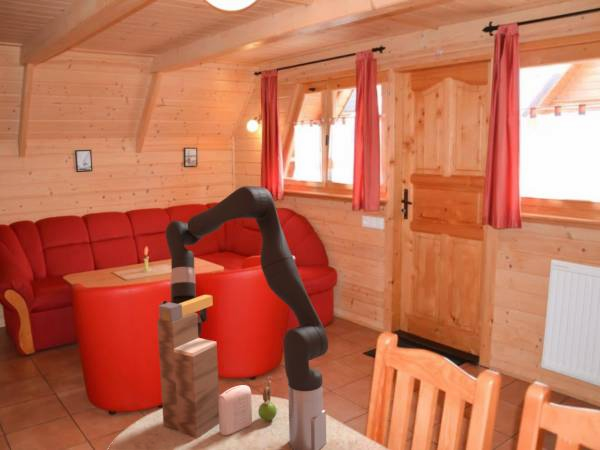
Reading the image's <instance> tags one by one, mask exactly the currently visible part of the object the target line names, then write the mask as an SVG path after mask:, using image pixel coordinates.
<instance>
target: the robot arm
mask: <svg viewBox="0 0 600 450" xmlns="http://www.w3.org/2000/svg"><path fill="white" fill-rule="evenodd" d="M238 219H246V220H247V219H249V220H250V219H251V220H252V219H253V220H255V221H256V224H257V225H258V229H259V231H260V234H261V241H262V242H261V249H260V250H261V251H260V267H261V270H262V273H263V275H264V279H265V281H266V283H267V286H268V288H269V289H270V290H271V291H272V292H273V293H274V294H275V296H277V297H278V298H279V299H280V300H281V301H282V302H284V303H285V305H287V306H288V308H289V309H291V311H292V313H293V314H294V316H295V318H296V320H297V322H298V325H299V326H296V327H293V328H290V329H288V330H287V331H286V332H285V334H284V337H283V357H284V359H283V360H284V371H285V375H286V378H287V383H288V384H287V387H288V389H287V391H288V421H289V422H288V425H289V426H288V430H289V432H288V434H289V446H290V448H291V449H292V450H320V449H321V448H323V447H324V446H325V444H327V411H326V410H325V409H324V405H323V404H324V403H323V398H324V397H323V396H324V395H323V392H324V391H323V390H324V389H323V374H322V372H321V371H319V370H318V369H316V368H312V367H310V363H309V361H311V360H314V359H317V358H319V357H321V356H324V355H325V354H326V353H327V352H328V350H329V339H328V335H327V332H326V330H325V327H324V325H323V323H322V321H321V319H320V317H319V316H318V313H317V312H316V308H314V305H313V303H312V300H311V299H310V297H309V295H308V292H307V290H306V288H305V285H304V283H303V280H302V278H301V276H300V273H299V269H298V267H297V264H296V261H295V259H294V257H293V255H292V252H291V250H290V248H289V244H288V242H287V240H286V236H285V233H284V231H283V227H282V226H281V222H280V217H279V213H278V212H277V207H276V204H275V201H274V198H273V195H272V193H271V192H270V191H269V190H268V188H265V187H263V186H253V185H251V186H250V185H245V186H242V187H239V188H237V189H235V190H234V191H233V192H231V193H230V194H229V195H227V196H226V197H225V198H223V199H222V200H221V201H220V202H218V203H217V204H215V205H214V206H213V205H212V207H210V208H207V209H206V210H204V211H201V212H199V213H197V214H195V215H193V216H191V217H190V218H189V219H188V222H183V221H179V220H171V221H170V222H169V223H168V224H167V226H166V228H165V239H166V244H167V248H168V251H169V254H170V257H171V264H170V265H171V267H170V268H171V271H170V281H169V282H170V303H175V304H179V303H182V302H185V301H188V300H191V299H194V298H197V292H196V289H197V286H196V285H197V284H196V271H195V256H194V252H193V251H191V250H190V249H188V248H186V247H185V246H193V245H196V244H198V242H200V241H201V240H202V239H203V238H204V237H206V236H208V235H210V234H213V233H214V232H216V231H218V230H220V229H221V228H222V226H223V225H224V224H225V223H227V222H229V221H233V220H238ZM166 303H169V301H167V300H164V301H162V302H160V305H163V304H166ZM160 305H159V306H160ZM194 313H197V320H198V337H200V335H201V334H202V323H204V322H207V320H208V315H207V313H208V312H207V308H204V309H202V310H199V314H198V311H196V312H194Z"/></svg>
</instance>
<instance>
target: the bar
mask: <svg viewBox="0 0 600 450" xmlns="http://www.w3.org/2000/svg"><path fill="white" fill-rule="evenodd" d="M168 302H169V301H168ZM170 302H171V301H170ZM170 302H169V303H166V304H163V305H159V306H158V315H159V316H158V319H160V320H164V321H169V322H174V321H177V320H179V319H182V317H183V316H186V315H188V314H191V313H194V312H198V311H199V312H200V310H202V309H204V308H206V309H207V308H210V307H212V306H213V305H214V303H213V295H211V294H203V295H200V296H196V298H194V299H191V300H188V301H185V302H182V303H179V304H175V303H170Z"/></svg>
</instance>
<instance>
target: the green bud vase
mask: <svg viewBox="0 0 600 450" xmlns="http://www.w3.org/2000/svg"><path fill="white" fill-rule="evenodd" d="M267 379H269V380H267V382H266V385H267V386H265V387H264V388H263V391H262V399H263V402H262V403H261V404H260V405H259V407H258V416H259V418H260V419H261V420H263V421H265V422H270V421H272V420H273V419H274V418H275V417H276V415H277V412H278V411H277V410H278V409H277V407H276V405H275V404H274V403H273V402H271V396H272V395H271V394H272V381H271V380H272V376H267Z"/></svg>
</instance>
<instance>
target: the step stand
mask: <svg viewBox="0 0 600 450" xmlns="http://www.w3.org/2000/svg"><path fill="white" fill-rule="evenodd" d="M197 314H198V312H197V313H191V314H188V315H186V316H183V317H182V319H179V320H177V321H174V322H169V321H164V320H160V318H158V319H156V320H157V321H156V323H157V337H158V338H157V339H158V341H157V343H158V356H159V369H160V371H159V373H160V387H161V403H162V404H161V405H162V421H163V424H162V425H163V428H166V429H169V430H171V431H174V432H178V433H180V434H183V435H185V436H189V437H191V438H194V439H199V438H201V436H203V435H204V434H206V433H207V432H209V431H210V430H211V429H213V428H215V427H216V426H218V425H219V405H218V399H219V396H220V391H219V389H220V388H219V369H218V368H219V366H218V365H219V363H218V346H217V345H218V343H217V342H218V341H214V340H210V339H205V338H200V337H199V336H198V320H197Z"/></svg>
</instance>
